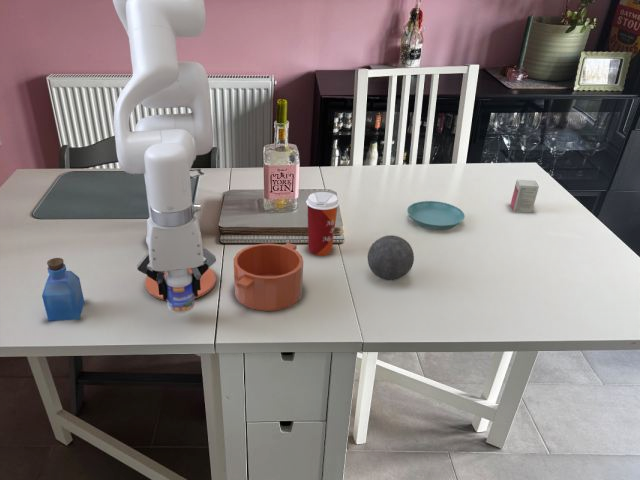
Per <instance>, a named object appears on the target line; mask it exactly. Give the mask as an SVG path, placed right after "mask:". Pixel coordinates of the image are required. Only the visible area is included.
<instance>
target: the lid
mask: <svg viewBox="0 0 640 480" xmlns="http://www.w3.org/2000/svg"><path fill="white" fill-rule="evenodd" d="M188 271H189V272H190V273H191V274H192V270H191V268H188ZM167 273H168V272H167V271H165V274H164V278H165V276H166V274H167ZM216 279H217V278H216V274H215V272H214V271H213V269H211V267H209V268H208V270H207V271H206V272H205V273H204V274H203V275H202V277H201V279H200V286H201V290H198V297H195V296H194V299H197V298H199V297H202V296H204V295H206V294H208V293H209V292H210V291H211V290H212V289H213V288H214V286H215V284H216ZM144 286H145V289H146V291H147V292H148V293H149V294H150V295H151V296H152V297H154V298H157V299H160V300H163V295H159V289H158V284H157V283H156V281H154V280H153V279H151V278H150V277H148V276H147V275H146V278H145V280H144Z"/></svg>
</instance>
